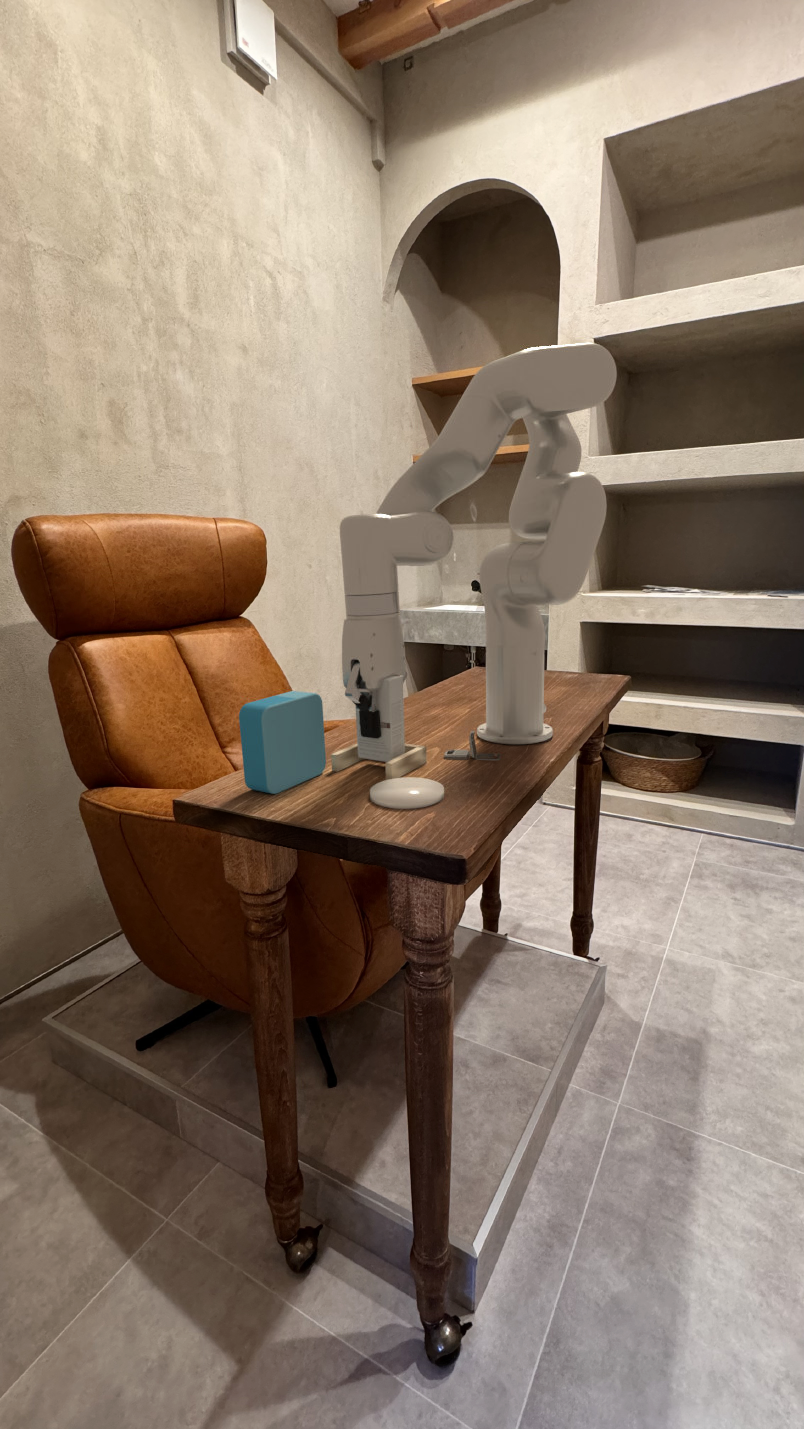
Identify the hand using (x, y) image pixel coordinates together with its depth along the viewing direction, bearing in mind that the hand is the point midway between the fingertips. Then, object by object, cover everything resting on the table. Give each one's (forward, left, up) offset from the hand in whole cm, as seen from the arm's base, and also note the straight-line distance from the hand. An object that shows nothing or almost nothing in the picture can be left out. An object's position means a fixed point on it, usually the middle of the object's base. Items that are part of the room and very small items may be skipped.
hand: (380, 731), depth 98 cm
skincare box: (0, 0, -4) cm, 4 cm away
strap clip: (-10, +10, -6) cm, 15 cm away
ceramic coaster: (+9, +10, -5) cm, 14 cm away
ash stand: (+1, 0, -5) cm, 5 cm away
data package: (+12, -8, -6) cm, 15 cm away
